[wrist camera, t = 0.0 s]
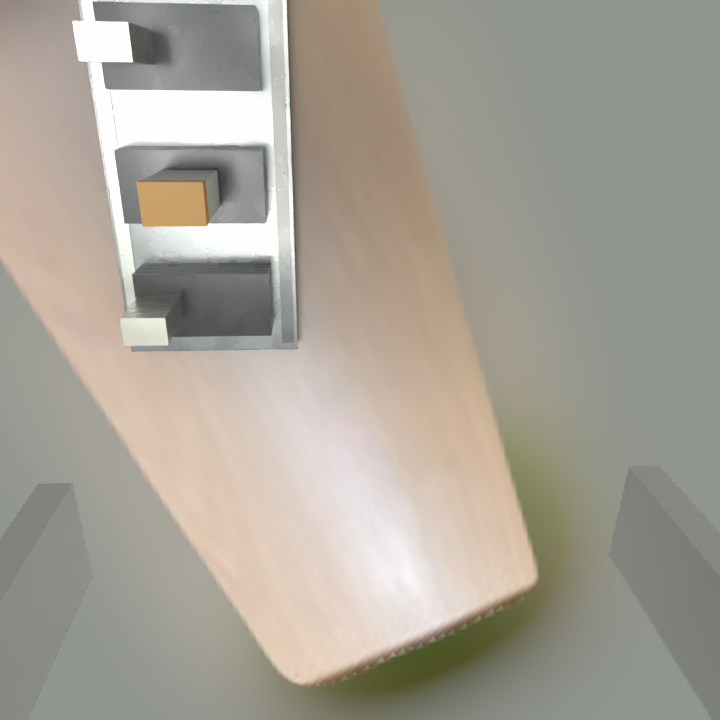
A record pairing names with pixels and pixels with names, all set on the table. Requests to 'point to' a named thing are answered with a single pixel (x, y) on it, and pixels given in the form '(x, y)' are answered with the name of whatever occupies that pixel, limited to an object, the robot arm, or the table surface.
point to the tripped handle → (178, 198)
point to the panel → (198, 166)
